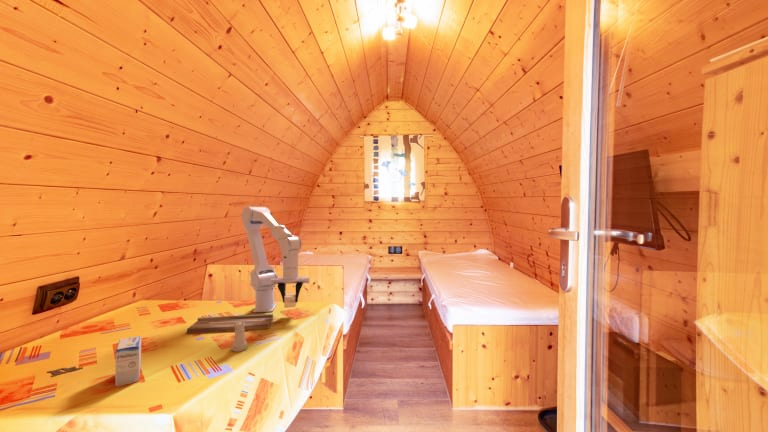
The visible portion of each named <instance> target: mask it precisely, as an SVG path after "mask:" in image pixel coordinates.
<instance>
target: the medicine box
mask: <svg viewBox="0 0 768 432" xmlns="http://www.w3.org/2000/svg"><path fill="white" fill-rule="evenodd" d="M141 363H142V336H141V335H138V336H130V337H124V338H121V339H119V341H118V344H117V346H116V350H115V370H114V371H115V374H114V375H115V379H114V380H115V383H114V384H115V387H120V386H125V385H129V384H133V383H137V382H139V381H140V374H141V368H142V364H141Z"/></svg>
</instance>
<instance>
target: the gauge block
mask: <svg viewBox="0 0 768 432" xmlns="http://www.w3.org/2000/svg"><path fill="white" fill-rule="evenodd" d="M285 294H286V295H285V297H284V303H283V305H284V307H283V308H287V309H288V308H296V305H297V302H295V298H296V293H285Z"/></svg>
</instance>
